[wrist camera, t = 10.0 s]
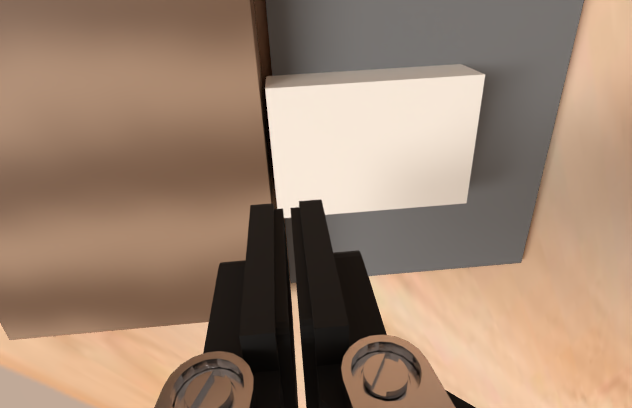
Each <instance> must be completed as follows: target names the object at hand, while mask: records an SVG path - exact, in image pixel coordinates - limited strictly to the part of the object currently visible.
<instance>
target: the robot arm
mask: <svg viewBox="0 0 632 408" xmlns="http://www.w3.org/2000/svg"><path fill="white" fill-rule="evenodd" d="M290 209H291V222H292V234H293V246H294V259H295V271H296V284H297V296H298V308H299V321H300V333H301V345H302V358H303V370H304V382H305V395H306V407H307V408H475V407H474V406H472V405H470V404H468V403H467V402H465V401H463V400H462V399H460V398H458V397H456V396H455V395H453V394H451V393H450V392H448V391H446V390H445V389H444V387H443V386H442V384H441V382H440V380H439V379H438V377H437V375H436V374H435V372H434V370H433V369H432V367H431V365H430V363H429V362H428V360H427V359H426V357H425V356H424V355H423V354H422V352H421V351H420V350H419V349H418V348H417V347H415V346H414V345H412V344H411V343H410V342H408V341H406V340H403V339H401V338H398V337H396V336H389V335H387V334H386V331H385V328H384V325H383V321H382V318H381V315H380V312H379V309H378V306H377V302H376V299H375V296H374V293H373V290H372V286H371V283H370V280H369V277H368V274H367V271H366V267H365V264H364V261H363V258H362V255H361V252H360V251H359V250H356V251H345V252H333V249H332V245H331V240H330V235H329V231H328V226H327V222H326V217H325V213H324V208H323V203H322V200H321V199H320V200H308V201H299V207H295V208H290ZM154 408H298V396H297V380H296V364H295V348H294V332H293V316H292V301H291V289H290V278H289V267H288V256H287V245H286V234H285V223H284V213H283V209H274V203H270V204H258V205H250V215H249V227H248V238H247V250H246V260H243V261H231V262H221V263H220V264H219V267H218V272H217V278H216V284H215V290H214V295H213V301H212V307H211V313H210V318H209V324H208V330H207V335H206V341H205V347H204V353H203V354H201V355H198V356H195V357H192V358H191V359H189V360H188V361H186V362H184V363H183V364H181V365H180V366H179V367H178V368H177V369H176V370H175V371H174V372H173V373H172V374H171V375H170V376H169V378H168V380H167V381H166V383H165V385H164V386H163V388H162V391H161V393H160V396H159V398H158V400H157V403H156V405H155V407H154Z"/></svg>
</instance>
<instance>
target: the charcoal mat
mask: <svg viewBox="0 0 632 408" xmlns="http://www.w3.org/2000/svg"><path fill="white" fill-rule="evenodd" d="M583 3H584V0H266V12H267V23H268V34H269V45H270V57H271V68H272V76H277V75H293V74H309V73H325V72H341V71H357V70H373V69H389V68H405V67H421V66H437V65H453V64H462V65H465V66H467V67H469V68H472V69H474V70H476V71H478V72H481V73H483V74H485V80H484V87H483V94H482V100H481V107H480V114H479V121H478V128H477V135H476V141H475V148H474V155H473V162H472V169H471V176H470V182H469V189H468V196H467V203H464V204H452V205H439V206H427V207H415V208H403V209H390V210H378V211H366V212H354V213H342V214H329V215H325V217H326V222H327V226H328V231H329V235H330V240H331V245H332V249H333V252H345V251H356V250H359V251H360V252H361V255H362V258H363V261H364V264H365V267H366V271H367V274H368V276H375V275H386V274H398V273H409V272H421V271H432V270H443V269H455V268H466V267H478V266H489V265H501V264H512V263H521V261H522V257H523V253H524V249H525V244H526V240H527V236H528V232H529V228H530V224H531V219H532V215H533V211H534V207H535V203H536V199H537V194H538V190H539V186H540V182H541V178H542V174H543V169H544V165H545V161H546V157H547V153H548V149H549V144H550V140H551V136H552V132H553V128H554V124H555V119H556V115H557V111H558V107H559V103H560V99H561V94H562V90H563V86H564V82H565V78H566V74H567V69H568V65H569V61H570V57H571V53H572V49H573V45H574V40H575V36H576V32H577V28H578V24H579V20H580V15H581V11H582V7H583ZM285 225H286V236H287V248H288V259H289V270H290V281H291V283H295V282H296V271H295V259H294V246H293V234H292V222H291V218H285Z"/></svg>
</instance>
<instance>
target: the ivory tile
mask: <svg viewBox="0 0 632 408" xmlns="http://www.w3.org/2000/svg"><path fill="white" fill-rule="evenodd" d="M484 80H485V74H483V73H481V72H478V71H476V70H474V69H472V68H469V67H467V66H465V65H462V64H453V65H437V66H421V67H405V68H389V69H373V70H357V71H341V72H325V73H309V74H293V75H277V76H266V85H265V92H266V102H267V111H268V121H269V131H270V141H271V151H272V161H273V170H274V180H275V190H276V200H277V209H283V213H284V218H291V209H290V208H295V207H299V201H308V200H320V199H321V200H322V203H323V208H324V213H325V215H329V214H342V213H354V212H366V211H378V210H390V209H403V208H415V207H427V206H439V205H452V204H464V203H467V196H468V189H469V182H470V176H471V169H472V162H473V155H474V148H475V141H476V135H477V128H478V121H479V114H480V107H481V100H482V94H483V87H484Z"/></svg>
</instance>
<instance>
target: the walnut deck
mask: <svg viewBox="0 0 632 408" xmlns="http://www.w3.org/2000/svg"><path fill="white" fill-rule="evenodd" d="M270 203H274V195H273V185H272V175H271V165H270V155H269V145H268V135H267V126H266V116H265V106H264V96H263V86H262V76H261V66H260V56H259V46H258V36H257V26H256V17H255V7H254V0H0V323H1V325H2V327H3V329H4V331H5V332H6V334H7V336H8V338H9V340H16V339H26V338H37V337H48V336H59V335H70V334H81V333H92V332H103V331H113V330H124V329H135V328H146V327H157V326H168V325H179V324H190V323H200V322H209V318H210V313H211V307H212V301H213V295H214V290H215V284H216V278H217V272H218V267H219V264H220V263H221V262H231V261H243V260H246V250H247V238H248V227H249V215H250V205H258V204H270ZM274 209H275V205H274Z"/></svg>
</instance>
